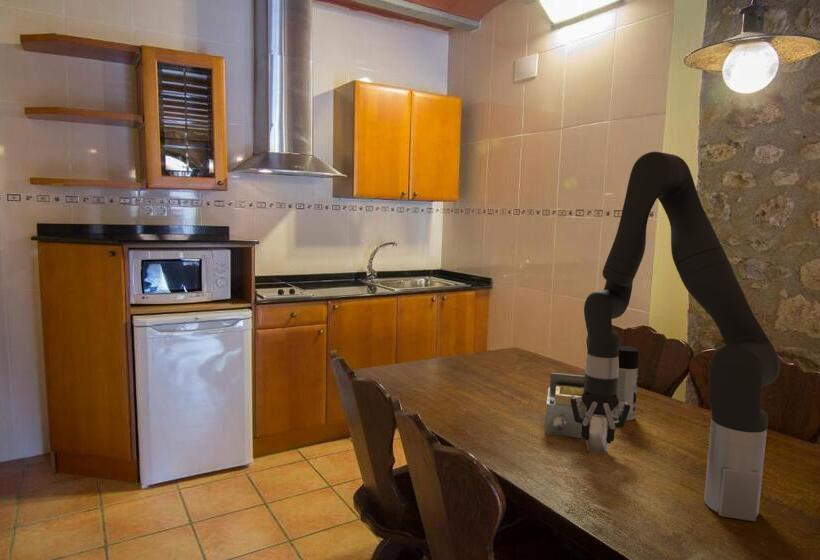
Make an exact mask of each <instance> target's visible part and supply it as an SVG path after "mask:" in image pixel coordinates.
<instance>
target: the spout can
mask: <svg viewBox="0 0 820 560" xmlns="http://www.w3.org/2000/svg"><path fill="white" fill-rule="evenodd" d="M608 430H609V422H608V419H607V416H606V415H602V414H593V415H592V417H591V419H590V420H589V422H588V438H587V440H586V447H585V448H586V451H588V452H589V453H592V454H596V455H606V454H607V453H608V446H609V445H608V444H609V443H608Z"/></svg>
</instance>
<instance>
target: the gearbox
mask: <svg viewBox="0 0 820 560" xmlns="http://www.w3.org/2000/svg"><path fill="white" fill-rule="evenodd" d="M584 382H585V375H582V374H581V375H580V374H573V373H572V374H571V373H569V374H568V373H560V372H559V373H558V372H550V382H549V383H550V384H549V385H550V386H549V387H548V389H547V398H546V407H545V408H546V410H545V427H544V429H545V430H544V431H545V432H544V434H545V435H546V434H547V435H552V436H553V435H554V436H561V437H562V436H563V437H571V438H577V439H583V438H582V435H581V432H582V424H581V423H579V422H578V423H577V422H575V419H574V414H573V410H572V405H571V396H575V397H579V396H582V394H583V393H584ZM586 409H587V407H586V406H585V404H584V403H583V401H581V402H580V405H579V406H578V411H579V415H580V416H581V417H583V416H584V414H585V411H586Z"/></svg>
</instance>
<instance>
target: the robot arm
mask: <svg viewBox="0 0 820 560" xmlns="http://www.w3.org/2000/svg"><path fill="white" fill-rule="evenodd" d="M657 199H658V201H659V202H660V204H661V207H662V208H663V210H664V213H665V214H666V216H667V219H668V222H669V226H670V249H671V250H670V251H671V257H672V260H673V263H674V265H675V268H676V271H677V273H678V275H679V278H680V280H681V281H682V283H683V286H684V287H685V289H686V290H687V292H688V293H689V294H690V296H691V297H692V298H693V299H694V300H695V301H696V302H697V304H699V306H700V307H702V309H703V310H704V311H706V313H707V314H708V315H709V316H710V317H711V319H712V320H713V322H714V323H715V325H716V326H717V328H718V330H719V333H720V335H721V337H722V340H723V343H724V344H723V345H721V346H719V347H717V349H716V350H715V351H714V352H713V353H712V356H711V360H710V364H709V373H708V404H709V407H710V410H711V417H710V418H711V419H710V429H709V439H708V450H707V451H708V452H707V463H706V471H705V472H706V473H705V485H704V498H703V501H704V504H705V505H706V506H707V507H708V508H709V509H711V510H712V511H713V512H715V513H717V514H718V516H720V517H724V518H730V519H731V518H732V519H737V520H743V521H750V522H757V517H759V515H760V514H759V511H760V502H761V493H762V483H763V474H764V472H763V470H764V463H765V453H766V452H765V451H766V443H767V442H766V441H767V434H768V425H769V416H768V413H767V412H766V411H765V410H763V409H762V407H761V401H762V388H763V387H767V386H769V385H771V384H772V383H774V382H775V381H776V380H777V379H778V377H779V375H780V372H781V361H780V358H779V355H778V353H777V351H776V349H775V347H774V346H773V344H772V343H771V341H770V339H769V337H768V336H767V335H766V332H765V331H764V330H763V327H762V326H761V324H760V323H759V321H758V320H757V318H756V316H755V314H754V312H753V311H752V309H751V306H750V305H749V302H748V300H747V298H746V296H745V293H744V291H743V288H742V287H741V285H740V283H739V281H738V278H737V277H736V274H735V271H734V270H733V266H732V264H731V262H730V260H729V258H728V256H727V253H726V252H725V249H724V247H723V245H722V244H721V242H720V239H719V238H718V236H717V233H716V232H715V229H714V228H713V225H712V223H711V221H710V219H709V217H708V216H707V215H708V214H707V213H706V211H705V209H704V208H703V207H704V206H703V205H702V202H701V199H700V196H699V194H698V191H697V187H696V185H695V181H694V179H693V175H692V173H691V170H690V167H689V166H688V163H687V162H686V161H685V160H684V159H683V158H681V156H678V155H676V154H671V153H666V152H662V151H655V150H654V151H653V150H652V151H648V152H645V153H644V154H642V155H641V156H640V157H638V158H637V160H636V161H635V162H634V164H633V166H632V168H631V171H630V175H629V178H628V183H627V188H626V193H625V198H624V201H623V202H624V203H623V207H622V210H621V215H620V218H619V219H620V220H619V222H618V228H617V232H616V234H615V237H614V239H613V243H612V246H611V248H610V251H609V253H608V255H607V257H606V258H607V259H606V260H605V263H604V266H603V270H602V277H603V278H604V280H605V283H604V289H603V290H597V291H593V292H591V293H590V294H589V295H588V296H587V297H586V299H585V302H584V305H583V314H584V322H585V327H586V330H587V331H586V332H587V337H588V338H587V353H586V358H585V365H584V376H585V382H584V393H583V394H582V396H579V397H575V396H571V405H572V410H573V414H574V419H575V422H577V423H578V422H579V423H581V424H582V432H581V435H582V438H581V439H584V441H587V438H588V422H589V420H590V419H591V417H592V415H593V414H602V415H606V416H607V419H608V422H609V430H608V444H610V445H611V444H612V442H614V441H615V433H616V432H615V431H616V429H617V428H620V429H623V428H624V426H625V423H626V422H627V421H626V418H627V415H628V413H629V410H630V404H629V402H627V401H626V402H623V401H620V400H619V399H618V397H617V388H618V373H619V359H618V356H619V346H620V335H619V333H618V332H617V331H615V330H613V322H612V320H614V319H617V318H619V317H621V316H623V314H624V313H625V312H626V310H627V308H628V306H629V304H630V301H631V295H632V291H633V290H632V289H633V283H634V279H635V278H636V275H637V272H638V270H639V268H640V265H641V264H642V261H643V258H644V255H645V251H646V243H647V226H648V220H649V216H650V213H651V210H652V208H653V206H654V205H655V202H656V201H657ZM581 401H583V403H584V404H585V406H586V407H587V409H586V411H585V414H584V416H583V417H581V416H580V415H579V411H578V406H579V405H580V402H581ZM617 405H619V406H620V407H619V408H620V410H621V412H620V415H619V418H618V419H616V420H614V419H615V418H613V416H612V413H611V412H612V410H613V409H614V408H615V407H616V406H617Z"/></svg>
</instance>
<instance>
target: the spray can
mask: <svg viewBox="0 0 820 560" xmlns="http://www.w3.org/2000/svg"><path fill="white" fill-rule="evenodd" d="M618 359H619V373H618V388H617V397H618V399H619V400H620V401H623V402H626V401H627V402H629V404H630V410H629V413H628V415H627V418H626V421H625V422H627V421H628V422H630V421H633V420H635V417H636V409H637V393H638V378H639V359H640V350H639V349H638V348H637V347H634V346H626V345H619V356H618ZM619 407H620V406H619V405H617V406H616V407H615V408H614V409H613V410H612V412H611V413H612V416H613V419H615V420H618V418H619V415H620V412H621V410H620V408H619Z"/></svg>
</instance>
